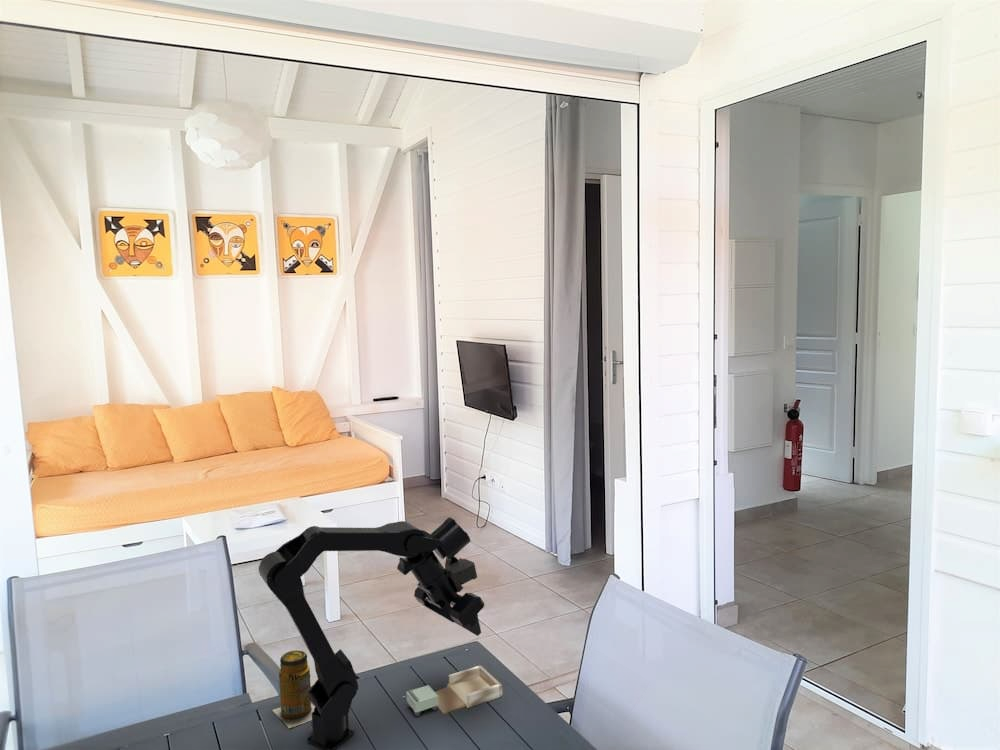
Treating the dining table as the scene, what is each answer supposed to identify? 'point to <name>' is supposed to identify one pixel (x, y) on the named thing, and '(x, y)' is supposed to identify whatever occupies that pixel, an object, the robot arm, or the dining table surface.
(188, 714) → the dining table surface
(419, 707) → the pale green pegged cube
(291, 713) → the condiment
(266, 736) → the dining table surface
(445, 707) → the dock
